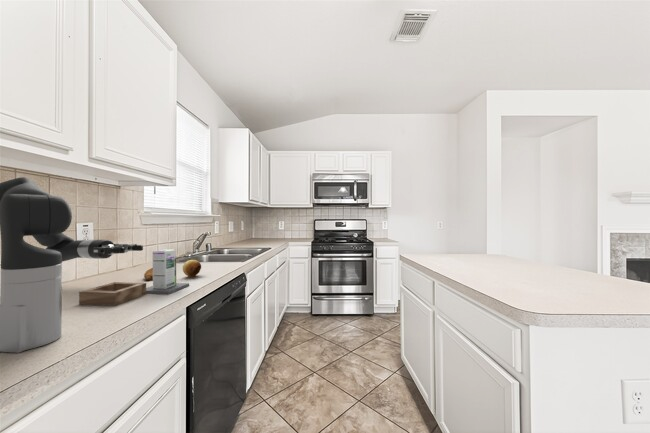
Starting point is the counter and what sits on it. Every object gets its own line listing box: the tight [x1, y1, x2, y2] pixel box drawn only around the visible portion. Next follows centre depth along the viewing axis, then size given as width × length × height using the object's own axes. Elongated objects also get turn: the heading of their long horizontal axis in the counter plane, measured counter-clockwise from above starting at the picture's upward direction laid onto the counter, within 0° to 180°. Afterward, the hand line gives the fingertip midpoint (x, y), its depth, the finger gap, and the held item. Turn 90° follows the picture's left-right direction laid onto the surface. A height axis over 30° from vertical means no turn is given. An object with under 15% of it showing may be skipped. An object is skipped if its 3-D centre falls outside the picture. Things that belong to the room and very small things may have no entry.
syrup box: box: [152, 248, 177, 289], centre depth 102 cm, size 6×6×14 cm
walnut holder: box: [78, 281, 147, 306], centre depth 91 cm, size 13×13×4 cm
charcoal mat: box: [146, 282, 190, 295], centre depth 103 cm, size 12×12×1 cm
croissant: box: [143, 267, 153, 282], centre depth 122 cm, size 14×7×5 cm, turn 18°
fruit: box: [182, 259, 202, 278], centre depth 125 cm, size 8×8×8 cm
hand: (133, 249), depth 103 cm, fingers open, 8 cm apart
